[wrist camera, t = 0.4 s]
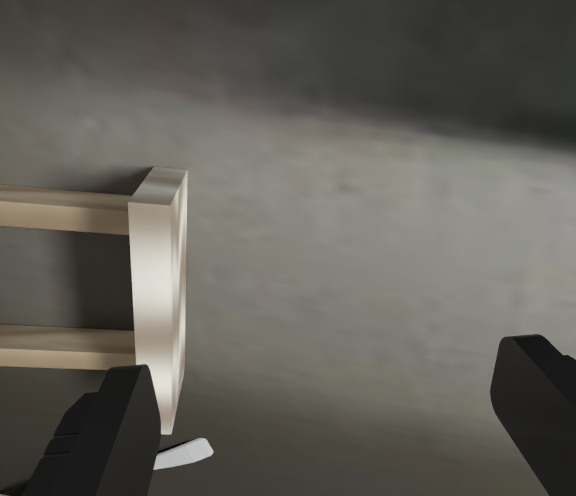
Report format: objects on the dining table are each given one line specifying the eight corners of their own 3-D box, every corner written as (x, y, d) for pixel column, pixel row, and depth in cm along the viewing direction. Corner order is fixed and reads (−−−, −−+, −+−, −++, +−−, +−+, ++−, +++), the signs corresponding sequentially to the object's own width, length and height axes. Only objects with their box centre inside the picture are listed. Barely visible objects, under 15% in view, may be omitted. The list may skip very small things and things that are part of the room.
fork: (218, 430, 40) (219, 455, 38) (5, 506, 40) (-8, 537, 37) (208, 410, 39) (208, 435, 37) (-13, 488, 38) (-28, 518, 36)
